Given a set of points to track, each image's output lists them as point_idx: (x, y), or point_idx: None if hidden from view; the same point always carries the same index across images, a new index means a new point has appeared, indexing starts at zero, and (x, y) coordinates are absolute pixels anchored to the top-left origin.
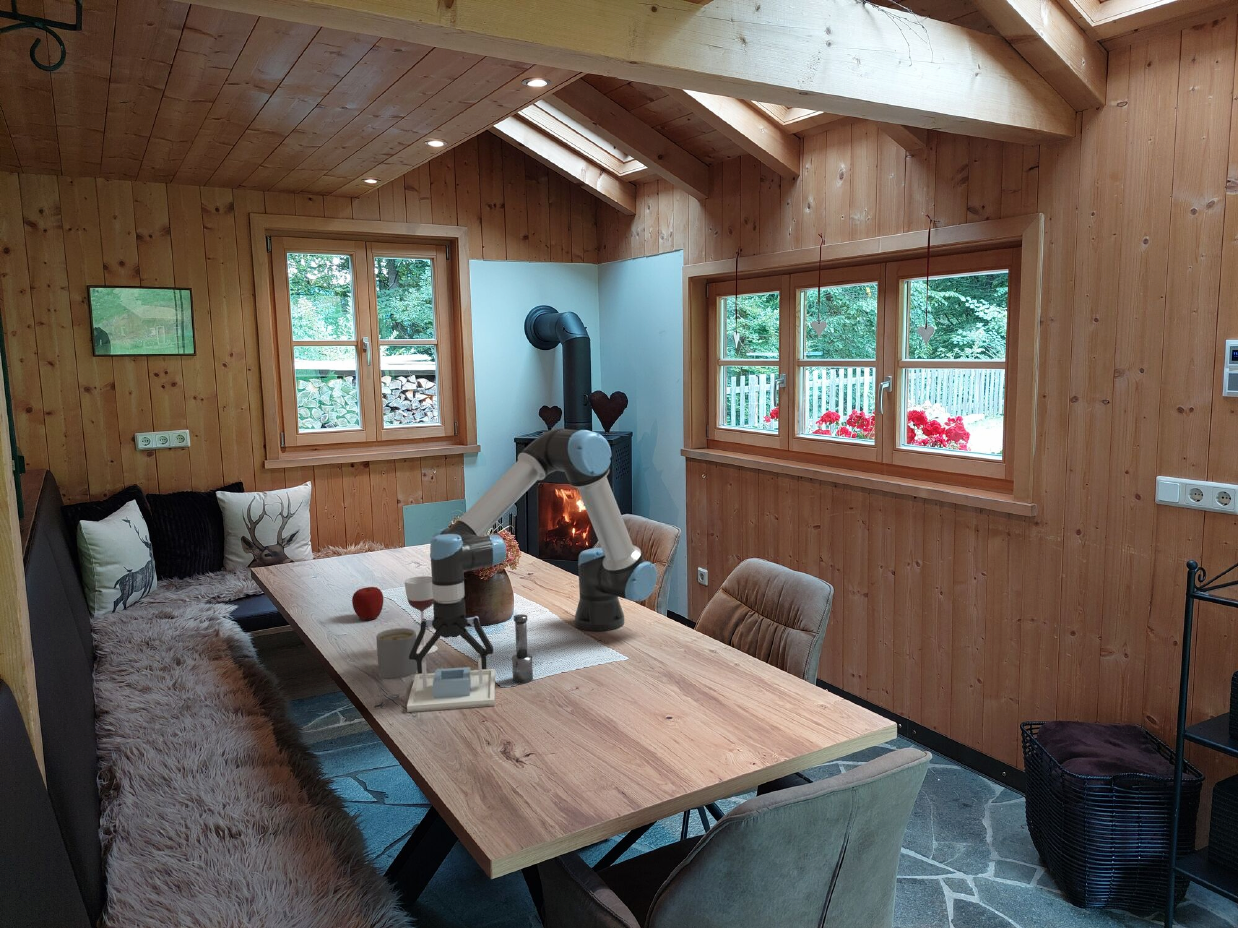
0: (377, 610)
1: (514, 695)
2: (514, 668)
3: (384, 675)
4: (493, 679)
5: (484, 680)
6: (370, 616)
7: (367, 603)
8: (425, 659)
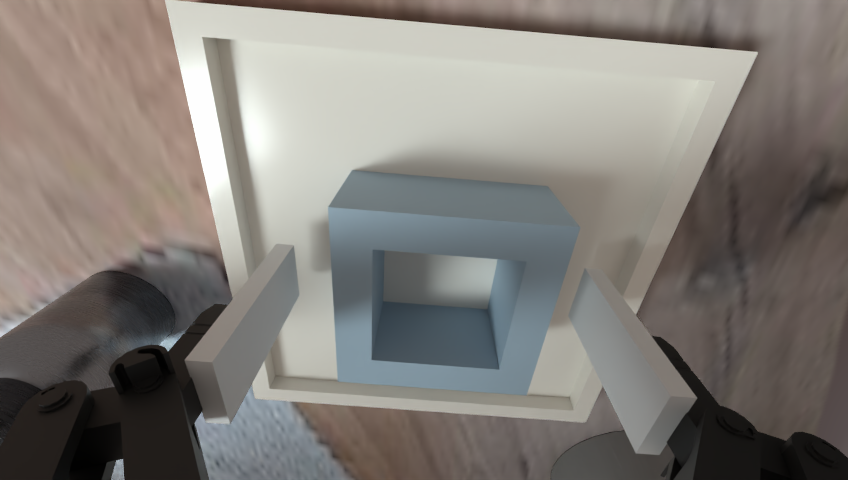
0: None
1: (111, 136)
2: (104, 337)
3: None
4: None
5: (295, 325)
6: None
7: None
8: (642, 434)
